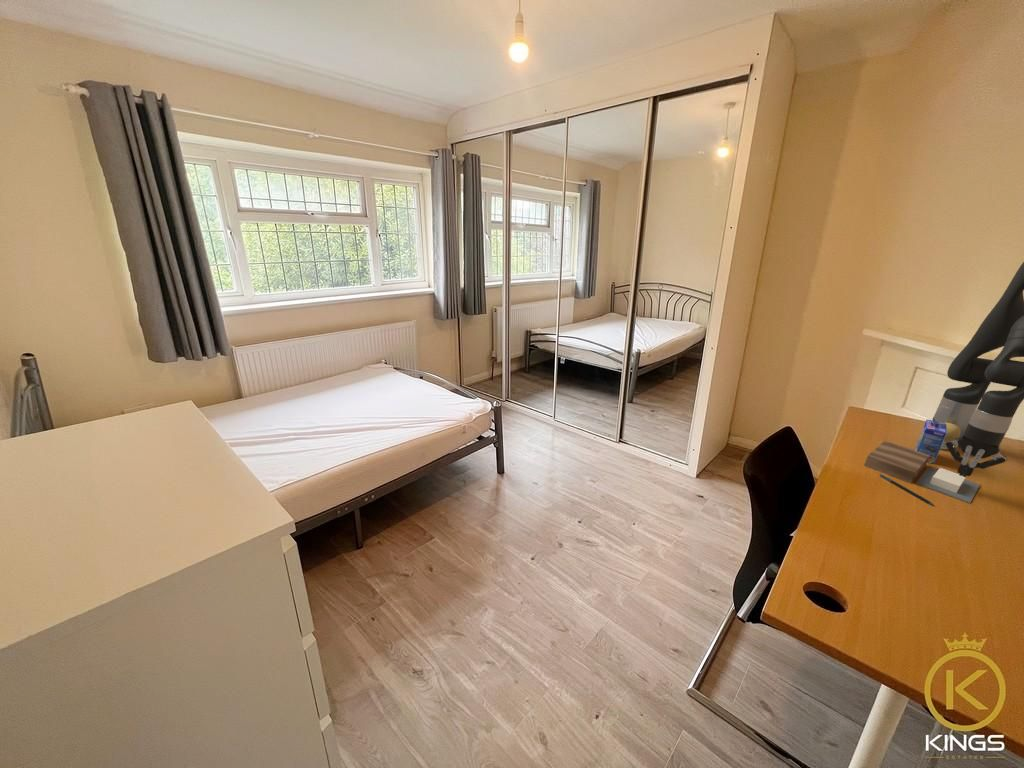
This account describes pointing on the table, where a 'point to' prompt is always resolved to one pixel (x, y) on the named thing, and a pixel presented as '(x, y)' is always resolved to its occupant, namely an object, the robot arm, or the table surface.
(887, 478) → the pen
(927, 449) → the ink cartridge box
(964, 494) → the mat
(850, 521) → the table surface
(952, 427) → the light bulb
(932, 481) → the cream rectangular block
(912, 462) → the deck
